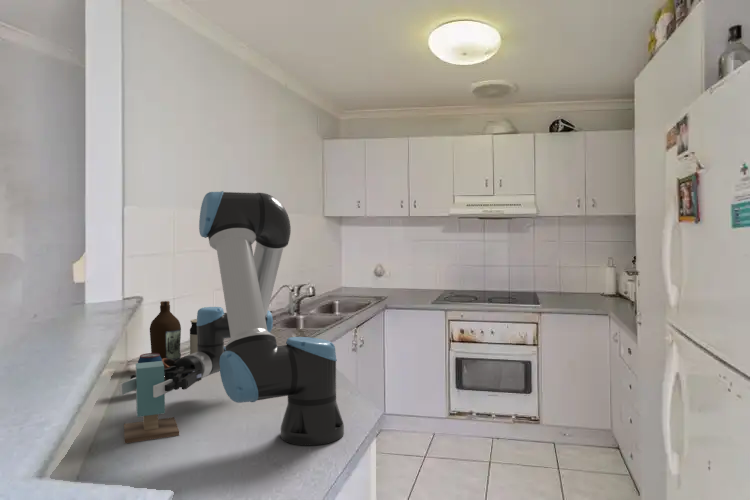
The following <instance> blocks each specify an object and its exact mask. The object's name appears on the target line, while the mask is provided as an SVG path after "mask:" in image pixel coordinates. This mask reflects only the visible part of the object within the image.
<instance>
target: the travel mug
mask: <svg viewBox="0 0 750 500" xmlns="http://www.w3.org/2000/svg"><path fill="white" fill-rule="evenodd" d="M190 323H191V326H190V329H189V355H190V354H193V353H195V352H197V325H196V324H197V318H194V319H190Z"/></svg>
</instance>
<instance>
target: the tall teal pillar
mask: <svg viewBox="0 0 750 500" xmlns="http://www.w3.org/2000/svg"><path fill="white" fill-rule="evenodd" d="M135 374H136V389H135V398H136V399H135V402H136V403H135V404H136V407H135V408H136V409H135V410H136V416H137V418H139V417H143V416H148V415H156V414H158V415H161V414H162V415H163V414H166V411H165V410H166V402H165V401H166V399H165V394H166V393H165V394H163V395H161V396H158V397H153V386H154V385H157V384H159V383H162V382H164V364H163V362H162V361H156V362H146V363H138V362H136V363H135Z"/></svg>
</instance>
